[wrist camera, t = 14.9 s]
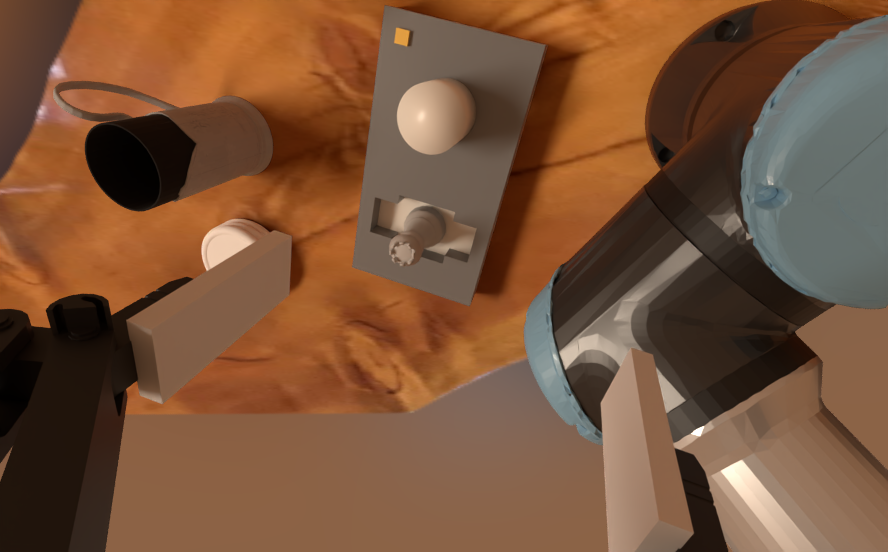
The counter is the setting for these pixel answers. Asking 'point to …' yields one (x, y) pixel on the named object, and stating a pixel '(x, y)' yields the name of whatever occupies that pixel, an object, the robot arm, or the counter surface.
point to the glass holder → (171, 147)
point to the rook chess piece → (417, 235)
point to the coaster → (229, 240)
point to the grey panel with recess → (442, 144)
